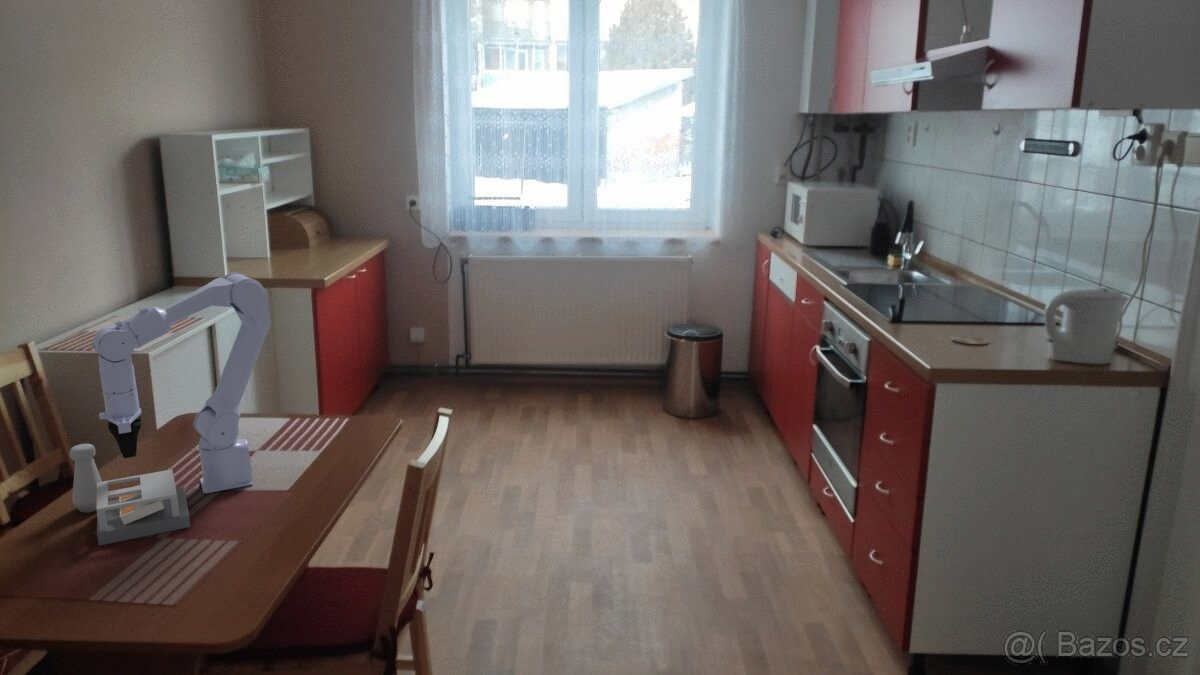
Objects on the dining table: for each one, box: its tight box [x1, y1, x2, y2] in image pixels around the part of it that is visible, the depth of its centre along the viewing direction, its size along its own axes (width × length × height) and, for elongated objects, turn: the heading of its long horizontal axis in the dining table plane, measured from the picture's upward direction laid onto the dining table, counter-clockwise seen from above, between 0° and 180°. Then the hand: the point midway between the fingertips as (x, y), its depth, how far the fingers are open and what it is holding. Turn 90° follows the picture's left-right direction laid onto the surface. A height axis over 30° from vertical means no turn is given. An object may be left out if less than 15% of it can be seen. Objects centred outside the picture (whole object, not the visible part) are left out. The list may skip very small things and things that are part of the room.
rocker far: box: [118, 483, 142, 503], centre depth 169 cm, size 7×5×2 cm
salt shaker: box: [69, 443, 103, 514], centre depth 171 cm, size 6×6×13 cm
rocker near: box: [120, 497, 164, 525], centre depth 163 cm, size 7×5×2 cm
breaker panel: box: [96, 469, 191, 546], centre depth 166 cm, size 15×14×7 cm
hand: (129, 456), depth 171 cm, fingers closed
